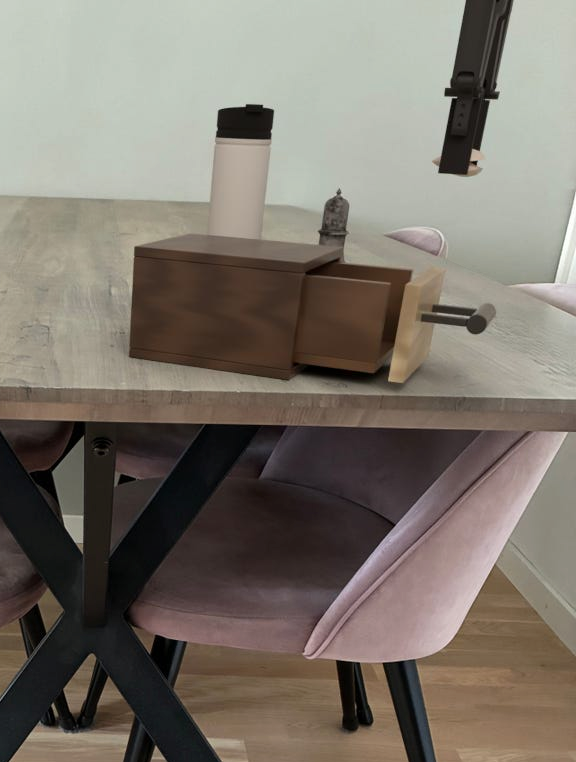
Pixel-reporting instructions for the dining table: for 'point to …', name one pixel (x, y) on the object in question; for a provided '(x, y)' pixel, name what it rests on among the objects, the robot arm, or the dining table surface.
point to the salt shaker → (334, 222)
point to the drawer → (375, 317)
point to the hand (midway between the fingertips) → (457, 172)
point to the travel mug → (240, 171)
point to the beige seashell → (472, 168)
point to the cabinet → (222, 302)
